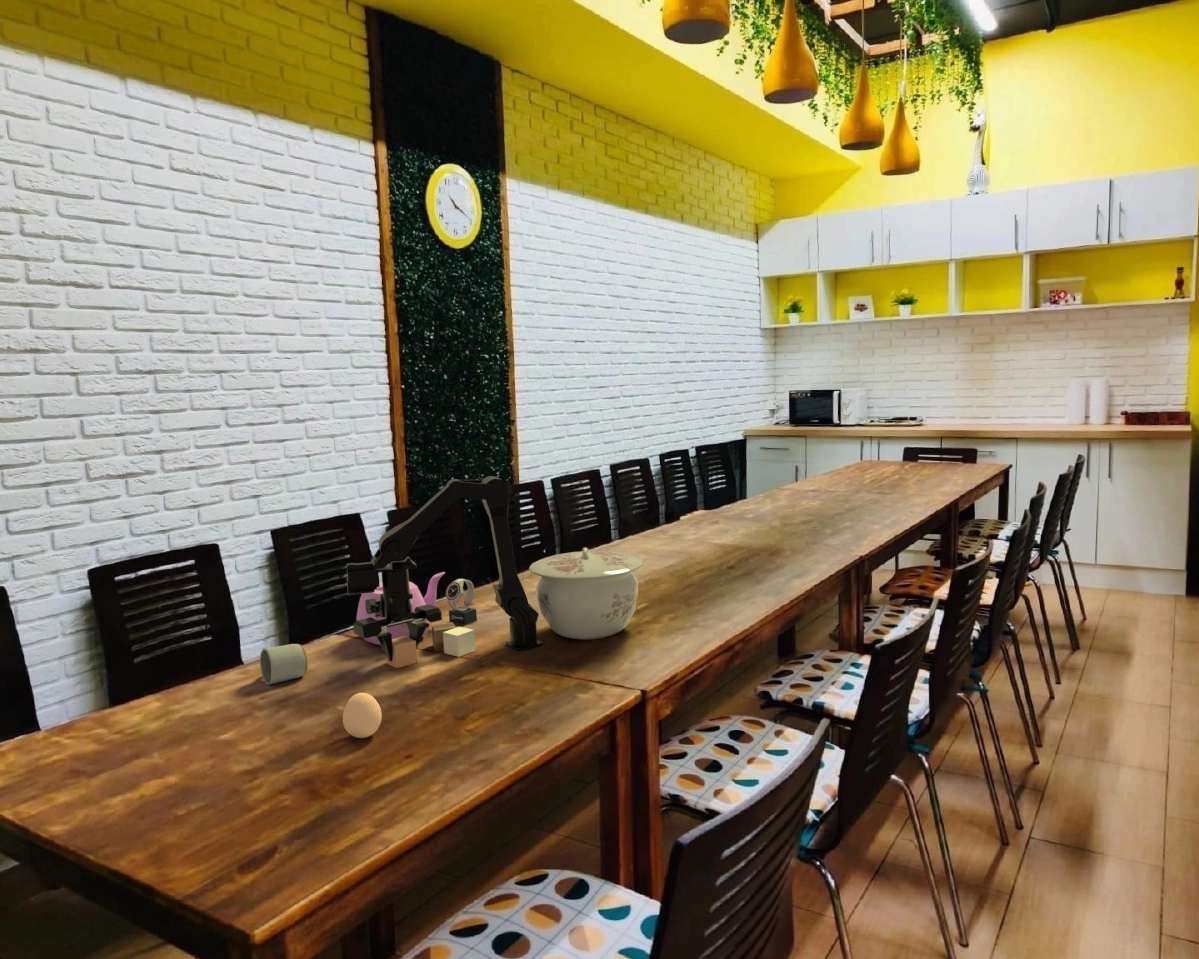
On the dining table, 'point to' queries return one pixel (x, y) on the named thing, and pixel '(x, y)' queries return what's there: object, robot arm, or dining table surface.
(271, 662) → the ceramic mug
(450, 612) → the watch
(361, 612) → the teapot
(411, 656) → the terracotta cube
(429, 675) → the dining table surface
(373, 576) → the robot arm
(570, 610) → the chamber pot
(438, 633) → the walnut cube
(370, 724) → the egg
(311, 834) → the dining table surface
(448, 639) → the cream cube
